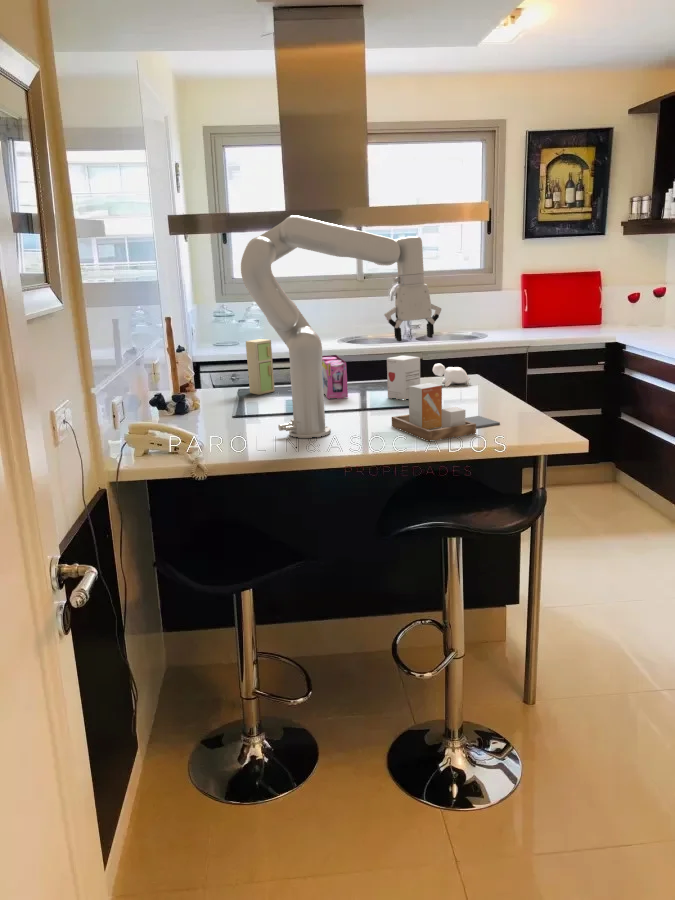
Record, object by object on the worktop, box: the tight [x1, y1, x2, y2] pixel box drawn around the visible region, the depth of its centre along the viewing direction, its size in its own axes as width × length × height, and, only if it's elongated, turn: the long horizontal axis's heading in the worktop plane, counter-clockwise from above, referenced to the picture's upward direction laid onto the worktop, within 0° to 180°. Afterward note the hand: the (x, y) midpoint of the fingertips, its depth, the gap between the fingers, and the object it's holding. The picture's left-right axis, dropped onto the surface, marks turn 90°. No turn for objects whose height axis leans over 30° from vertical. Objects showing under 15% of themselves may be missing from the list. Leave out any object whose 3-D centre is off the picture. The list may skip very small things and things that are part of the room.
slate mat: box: [465, 415, 501, 429], centre depth 216 cm, size 11×11×1 cm
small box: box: [408, 382, 443, 430], centre depth 212 cm, size 8×6×13 cm
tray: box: [391, 413, 477, 442], centre depth 210 cm, size 16×22×3 cm
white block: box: [441, 406, 466, 428], centre depth 206 cm, size 5×5×7 cm
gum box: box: [322, 354, 349, 400], centre depth 272 cm, size 24×8×14 cm, turn 10°
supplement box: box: [386, 355, 421, 401], centre depth 258 cm, size 9×9×15 cm
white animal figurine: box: [432, 363, 471, 387], centre depth 280 cm, size 9×8×15 cm
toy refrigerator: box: [245, 338, 276, 395], centre depth 279 cm, size 8×7×21 cm
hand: (414, 339), depth 209 cm, fingers open, 9 cm apart
